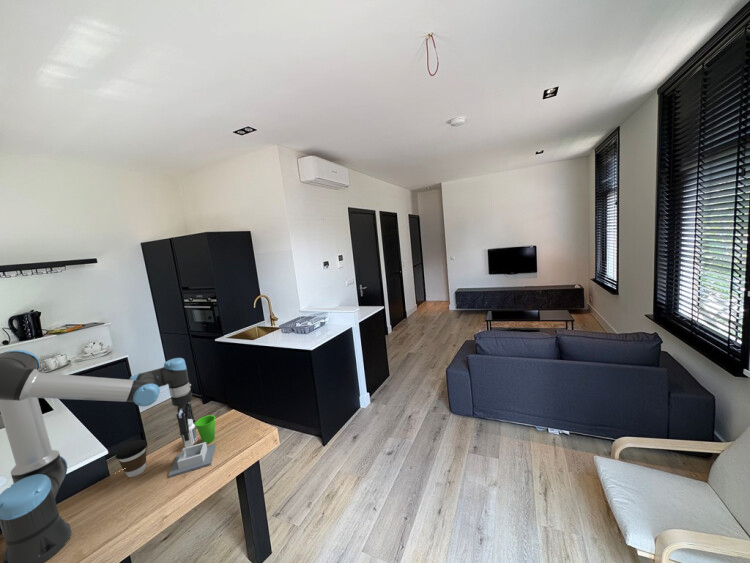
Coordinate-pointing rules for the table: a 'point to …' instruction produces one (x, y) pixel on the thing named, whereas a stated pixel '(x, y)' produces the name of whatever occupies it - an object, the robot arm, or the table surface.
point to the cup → (206, 428)
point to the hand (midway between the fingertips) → (190, 441)
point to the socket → (193, 458)
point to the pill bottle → (192, 431)
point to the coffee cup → (133, 457)
